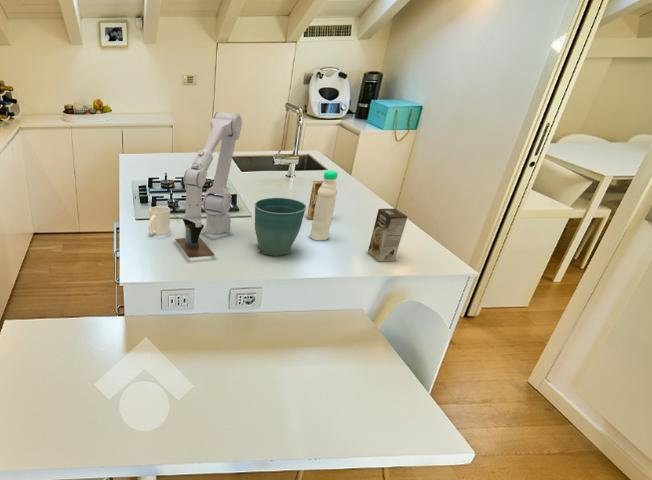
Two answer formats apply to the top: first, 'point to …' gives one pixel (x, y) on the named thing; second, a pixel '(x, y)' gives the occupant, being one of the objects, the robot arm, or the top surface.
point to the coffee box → (387, 234)
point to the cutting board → (195, 249)
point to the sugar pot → (189, 237)
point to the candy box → (313, 198)
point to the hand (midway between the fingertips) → (192, 239)
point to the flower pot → (277, 224)
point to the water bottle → (324, 207)
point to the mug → (159, 220)
